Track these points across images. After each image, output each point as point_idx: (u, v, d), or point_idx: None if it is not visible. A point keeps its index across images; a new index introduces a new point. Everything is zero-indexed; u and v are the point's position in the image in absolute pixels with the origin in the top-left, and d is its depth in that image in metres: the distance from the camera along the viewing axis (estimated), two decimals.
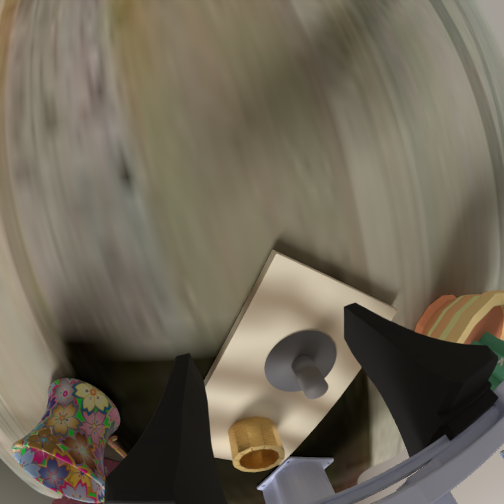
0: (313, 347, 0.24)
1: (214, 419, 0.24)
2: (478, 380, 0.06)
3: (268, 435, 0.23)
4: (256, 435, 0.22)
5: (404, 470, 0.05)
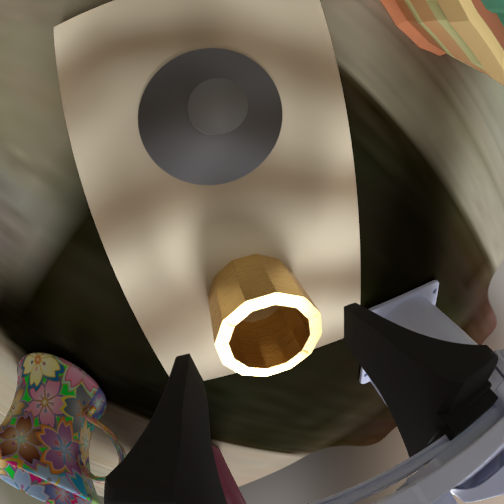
0: (203, 76, 0.11)
1: (174, 306, 0.16)
2: (478, 380, 0.06)
3: (253, 280, 0.13)
4: (230, 292, 0.13)
5: (404, 470, 0.06)
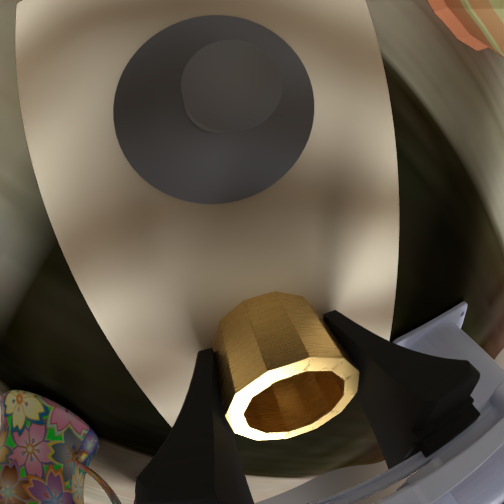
0: None
1: (170, 354, 0.12)
2: (456, 397, 0.06)
3: (276, 336, 0.09)
4: (245, 351, 0.09)
5: (404, 470, 0.05)
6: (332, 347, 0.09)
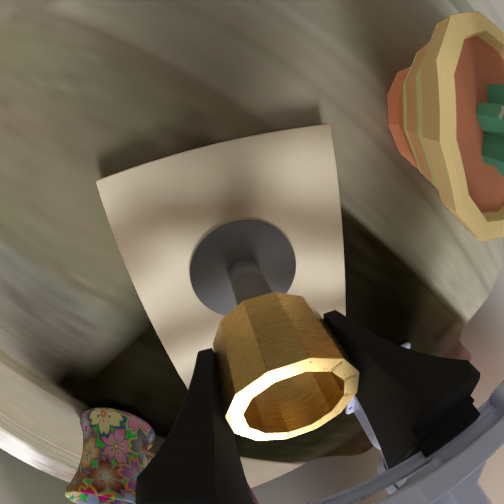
0: (239, 245, 0.17)
1: None
2: (456, 397, 0.06)
3: (276, 337, 0.09)
4: (245, 352, 0.09)
5: (405, 470, 0.05)
6: (332, 348, 0.09)
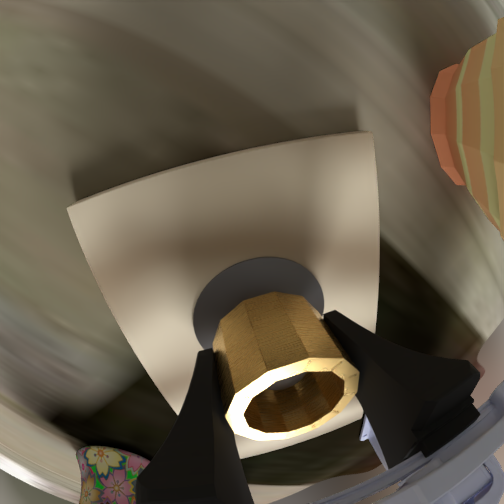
0: (255, 289, 0.13)
1: None
2: (456, 397, 0.06)
3: (276, 336, 0.09)
4: (245, 351, 0.09)
5: (405, 470, 0.05)
6: (332, 347, 0.09)
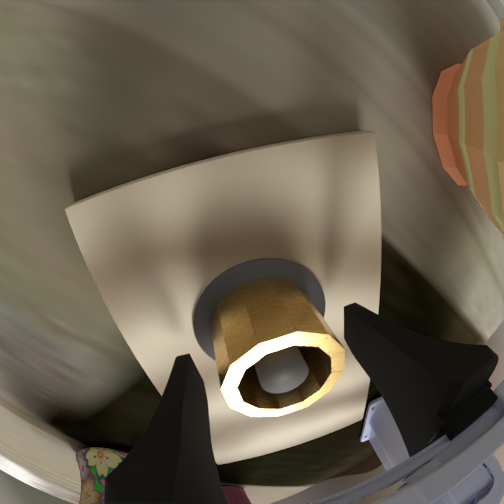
0: None
1: (224, 429, 0.18)
2: (478, 380, 0.06)
3: (267, 314, 0.10)
4: (239, 328, 0.10)
5: (404, 470, 0.06)
6: (318, 325, 0.10)
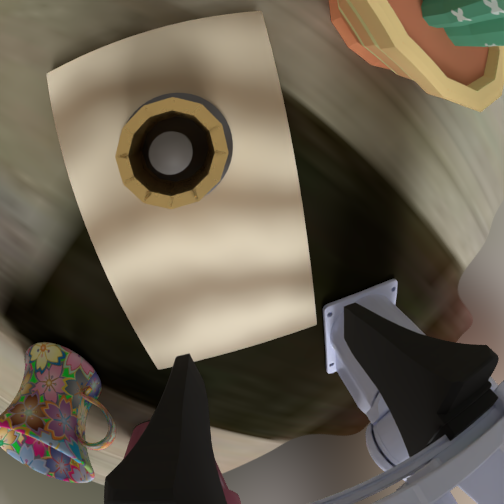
0: (168, 118, 0.14)
1: (153, 300, 0.19)
2: (478, 380, 0.06)
3: None
4: None
5: (404, 470, 0.05)
6: None
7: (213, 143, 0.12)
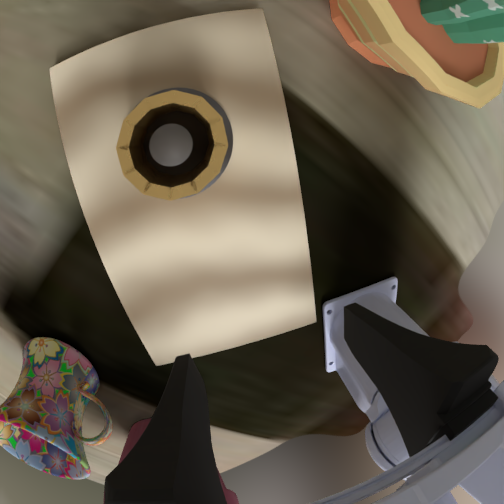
0: None
1: (152, 295, 0.19)
2: (478, 380, 0.06)
3: None
4: None
5: (405, 470, 0.05)
6: None
7: (213, 135, 0.12)
